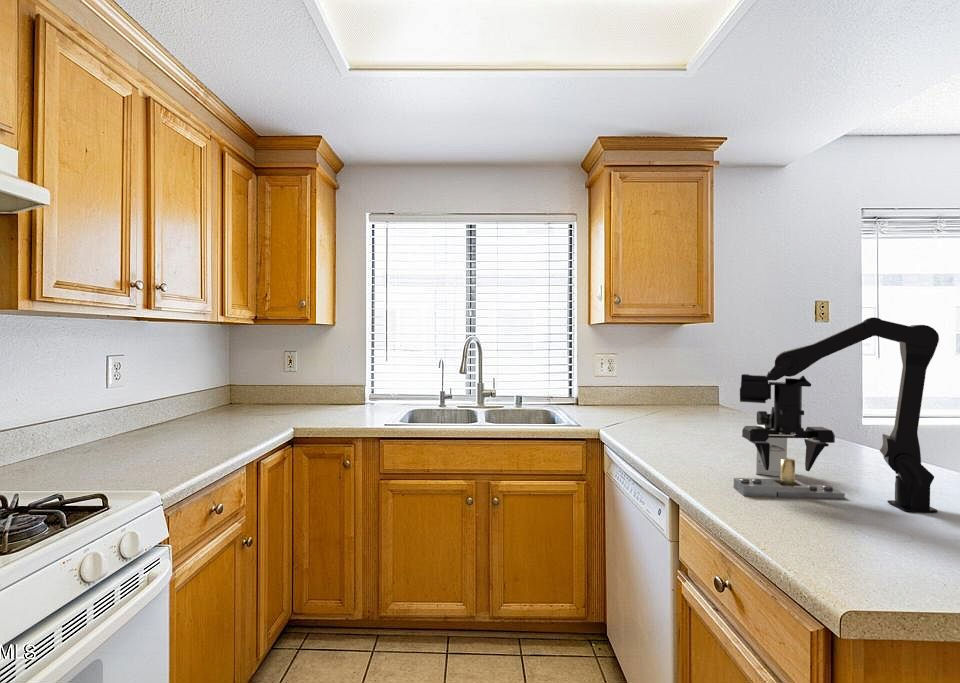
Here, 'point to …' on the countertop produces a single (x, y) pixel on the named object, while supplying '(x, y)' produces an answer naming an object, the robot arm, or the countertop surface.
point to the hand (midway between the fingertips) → (786, 470)
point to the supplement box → (772, 456)
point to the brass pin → (787, 472)
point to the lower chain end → (815, 493)
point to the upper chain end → (766, 487)
